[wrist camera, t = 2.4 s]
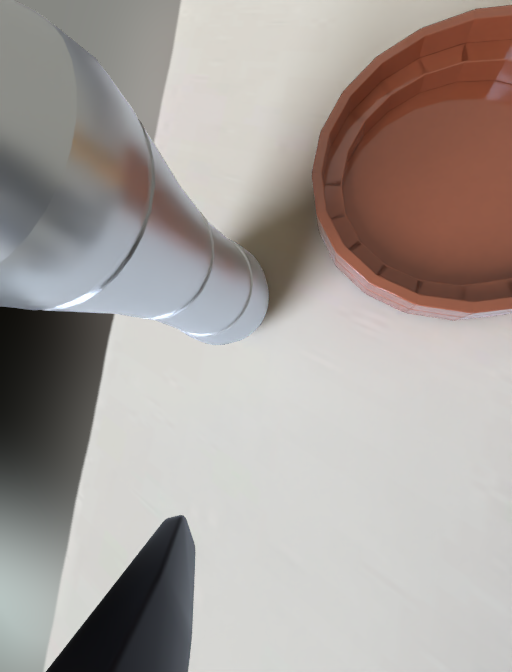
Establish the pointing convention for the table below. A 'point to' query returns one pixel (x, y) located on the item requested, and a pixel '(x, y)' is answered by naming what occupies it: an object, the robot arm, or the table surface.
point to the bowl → (425, 171)
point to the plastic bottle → (103, 201)
